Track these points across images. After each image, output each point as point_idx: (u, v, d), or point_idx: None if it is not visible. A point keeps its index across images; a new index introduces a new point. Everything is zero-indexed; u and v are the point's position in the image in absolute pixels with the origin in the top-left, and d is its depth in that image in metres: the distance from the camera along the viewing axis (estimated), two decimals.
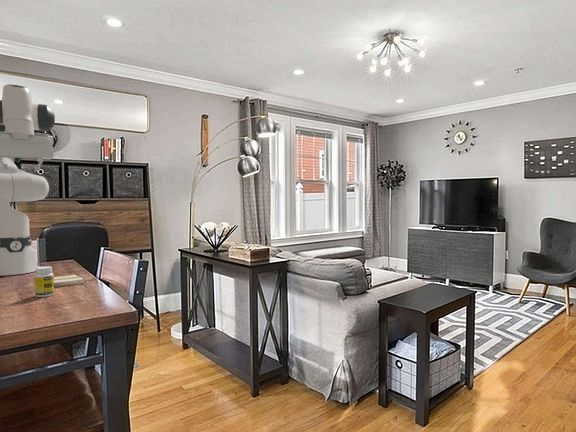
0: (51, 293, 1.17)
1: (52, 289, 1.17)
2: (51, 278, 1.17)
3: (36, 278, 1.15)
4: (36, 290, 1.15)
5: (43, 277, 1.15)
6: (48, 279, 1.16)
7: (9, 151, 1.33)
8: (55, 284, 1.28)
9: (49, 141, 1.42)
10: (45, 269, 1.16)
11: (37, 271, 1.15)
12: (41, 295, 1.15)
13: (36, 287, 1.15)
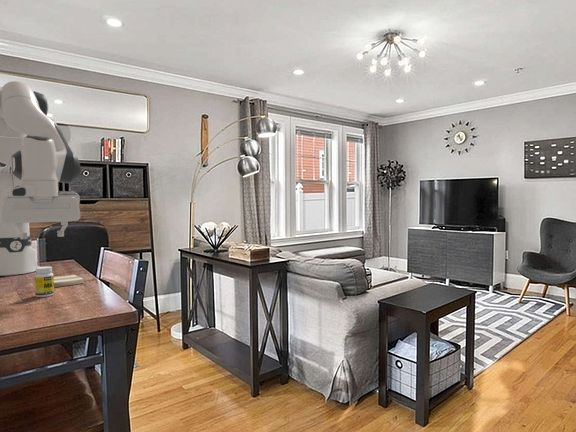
0: (51, 293, 1.17)
1: (52, 289, 1.17)
2: (51, 278, 1.17)
3: (36, 278, 1.15)
4: (36, 290, 1.15)
5: (43, 277, 1.15)
6: (48, 279, 1.16)
7: (29, 218, 1.12)
8: (55, 284, 1.28)
9: (75, 201, 1.21)
10: (45, 269, 1.16)
11: (37, 271, 1.15)
12: (41, 295, 1.15)
13: (36, 287, 1.15)
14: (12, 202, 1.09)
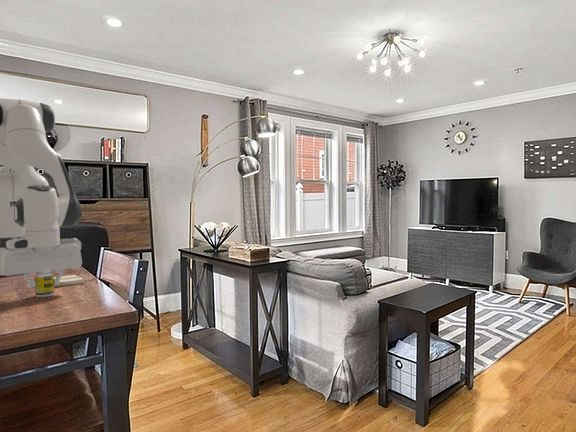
0: (51, 293, 1.17)
1: (52, 289, 1.17)
2: (51, 278, 1.17)
3: (36, 278, 1.15)
4: (36, 290, 1.15)
5: (43, 277, 1.15)
6: (48, 279, 1.16)
7: (31, 268, 1.13)
8: None
9: (77, 248, 1.21)
10: (45, 269, 1.16)
11: None
12: (41, 295, 1.15)
13: (36, 287, 1.15)
14: (14, 254, 1.10)
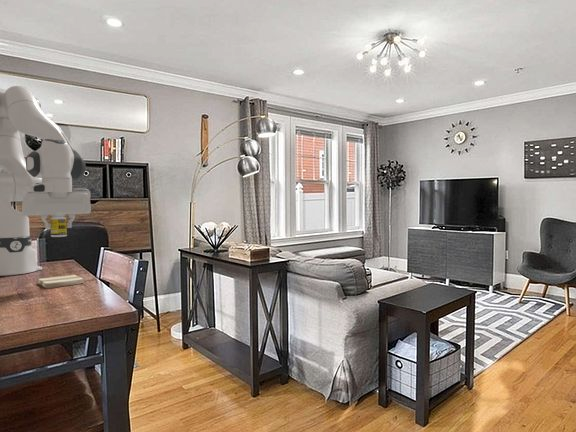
0: (64, 234, 1.33)
1: (65, 231, 1.34)
2: (64, 221, 1.33)
3: (51, 220, 1.31)
4: (51, 231, 1.32)
5: (58, 219, 1.31)
6: (61, 221, 1.32)
7: (47, 211, 1.30)
8: (55, 284, 1.28)
9: (87, 196, 1.38)
10: (59, 212, 1.32)
11: None
12: (56, 235, 1.31)
13: (51, 228, 1.31)
14: (33, 196, 1.26)
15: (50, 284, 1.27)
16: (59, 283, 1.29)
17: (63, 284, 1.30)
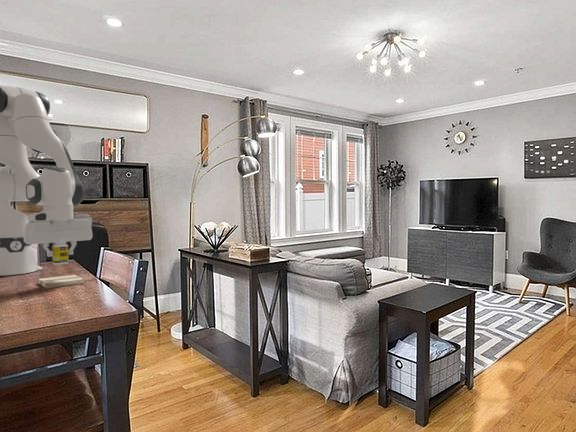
0: (66, 261, 1.33)
1: (67, 258, 1.34)
2: (66, 248, 1.33)
3: (53, 248, 1.32)
4: (53, 258, 1.32)
5: (59, 247, 1.32)
6: (63, 248, 1.32)
7: (49, 239, 1.30)
8: (55, 284, 1.28)
9: (88, 223, 1.38)
10: (61, 240, 1.32)
11: None
12: (58, 263, 1.32)
13: (53, 256, 1.32)
14: (34, 225, 1.27)
15: (50, 284, 1.27)
16: (59, 283, 1.29)
17: (63, 284, 1.30)
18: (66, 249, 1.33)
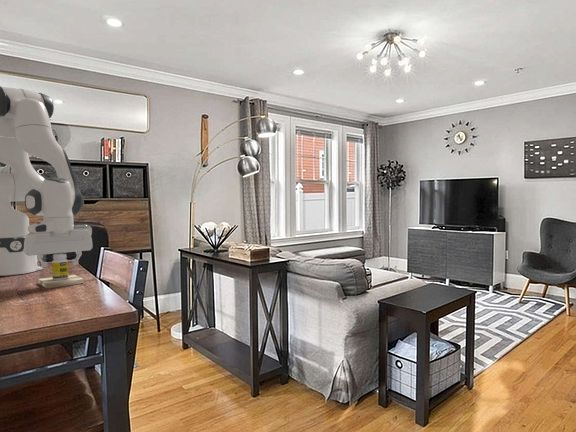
0: (66, 277, 1.34)
1: (67, 273, 1.34)
2: (66, 263, 1.34)
3: (53, 263, 1.32)
4: (53, 274, 1.32)
5: (59, 262, 1.32)
6: (63, 264, 1.33)
7: (49, 250, 1.30)
8: (55, 284, 1.28)
9: (88, 233, 1.38)
10: (61, 255, 1.33)
11: (54, 257, 1.32)
12: (57, 278, 1.32)
13: (53, 271, 1.32)
14: (35, 237, 1.27)
15: (50, 284, 1.27)
16: (59, 283, 1.29)
17: (63, 284, 1.30)
18: (66, 264, 1.34)
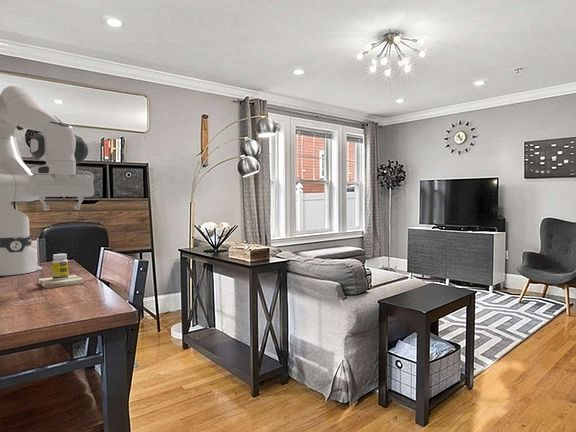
0: (66, 277, 1.34)
1: (67, 273, 1.34)
2: (66, 263, 1.34)
3: (53, 263, 1.32)
4: (53, 274, 1.32)
5: (59, 262, 1.32)
6: (63, 264, 1.33)
7: (51, 192, 1.32)
8: (55, 284, 1.28)
9: (90, 179, 1.40)
10: (61, 255, 1.33)
11: (54, 257, 1.32)
12: (57, 278, 1.32)
13: (53, 271, 1.32)
14: (37, 178, 1.29)
15: (50, 284, 1.27)
16: (59, 283, 1.29)
17: (63, 284, 1.30)
18: (66, 264, 1.34)
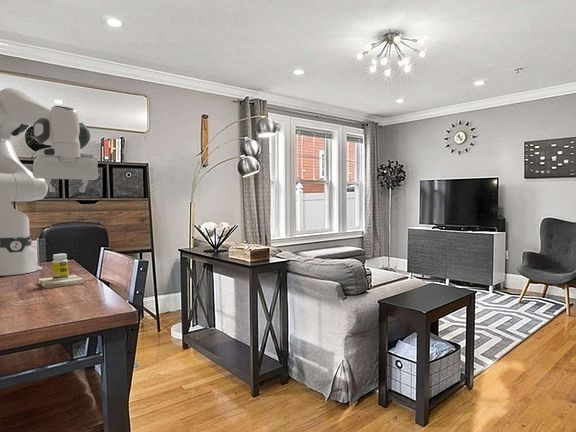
0: (66, 277, 1.34)
1: (67, 273, 1.34)
2: (66, 263, 1.34)
3: (53, 263, 1.32)
4: (53, 274, 1.32)
5: (59, 263, 1.32)
6: (63, 264, 1.33)
7: (57, 174, 1.35)
8: (55, 284, 1.28)
9: (94, 163, 1.43)
10: (61, 255, 1.33)
11: (54, 257, 1.32)
12: (57, 278, 1.32)
13: (53, 271, 1.32)
14: (43, 160, 1.32)
15: (50, 284, 1.27)
16: (59, 283, 1.29)
17: (63, 284, 1.30)
18: (66, 264, 1.34)
